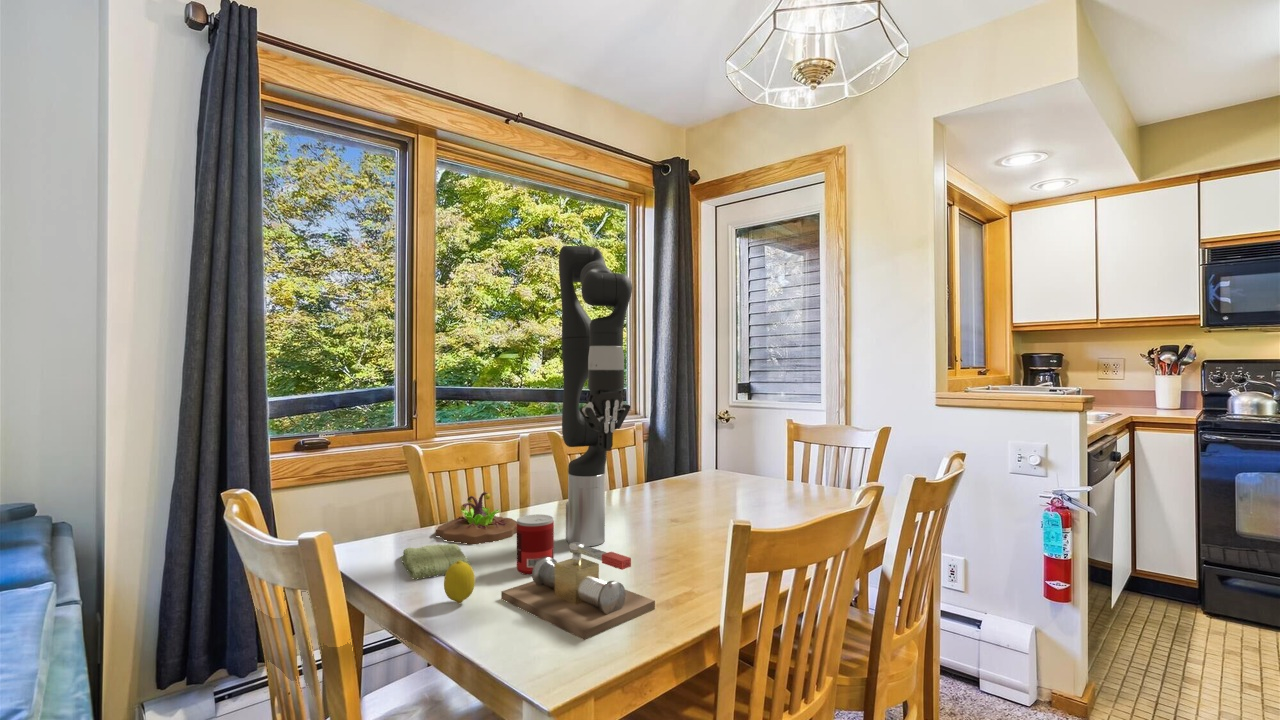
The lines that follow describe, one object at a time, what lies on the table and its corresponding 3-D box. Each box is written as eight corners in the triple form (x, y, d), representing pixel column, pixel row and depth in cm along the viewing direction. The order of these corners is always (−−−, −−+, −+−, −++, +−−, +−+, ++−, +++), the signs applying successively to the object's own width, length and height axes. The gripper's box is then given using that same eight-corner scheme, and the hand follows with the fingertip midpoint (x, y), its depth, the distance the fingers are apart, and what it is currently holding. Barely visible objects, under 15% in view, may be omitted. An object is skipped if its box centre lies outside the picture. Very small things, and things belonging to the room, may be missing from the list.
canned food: (560, 568, 129) (560, 518, 129) (530, 578, 123) (531, 525, 123) (539, 560, 134) (539, 512, 135) (509, 569, 129) (509, 518, 129)
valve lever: (566, 551, 110) (566, 543, 110) (577, 548, 112) (577, 540, 112) (620, 570, 100) (620, 561, 100) (632, 566, 102) (632, 557, 102)
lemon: (457, 612, 106) (458, 567, 106) (437, 605, 109) (437, 562, 109) (481, 601, 111) (481, 559, 111) (460, 595, 114) (461, 553, 114)
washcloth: (457, 550, 143) (457, 537, 143) (472, 574, 127) (473, 559, 127) (399, 559, 137) (399, 545, 137) (408, 584, 121) (408, 568, 121)
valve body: (531, 588, 115) (532, 544, 115) (554, 581, 119) (554, 538, 119) (602, 620, 101) (602, 569, 101) (625, 610, 105) (625, 561, 105)
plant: (477, 550, 143) (477, 503, 143) (424, 537, 153) (424, 494, 153) (533, 530, 160) (533, 489, 160) (481, 520, 170) (482, 481, 170)
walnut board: (501, 599, 112) (501, 591, 112) (570, 576, 125) (570, 569, 125) (584, 640, 96) (584, 630, 96) (654, 608, 108) (654, 600, 108)
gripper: (594, 368, 116) (593, 456, 116) (640, 368, 126) (640, 449, 126) (570, 367, 122) (569, 451, 122) (616, 367, 131) (615, 445, 131)
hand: (605, 450), depth 124 cm, fingers closed
